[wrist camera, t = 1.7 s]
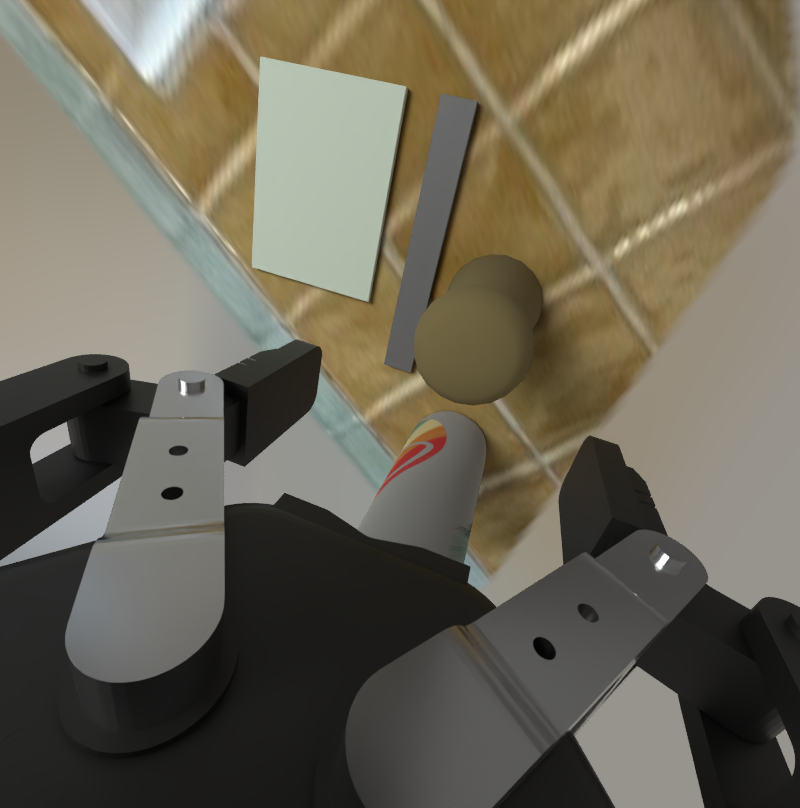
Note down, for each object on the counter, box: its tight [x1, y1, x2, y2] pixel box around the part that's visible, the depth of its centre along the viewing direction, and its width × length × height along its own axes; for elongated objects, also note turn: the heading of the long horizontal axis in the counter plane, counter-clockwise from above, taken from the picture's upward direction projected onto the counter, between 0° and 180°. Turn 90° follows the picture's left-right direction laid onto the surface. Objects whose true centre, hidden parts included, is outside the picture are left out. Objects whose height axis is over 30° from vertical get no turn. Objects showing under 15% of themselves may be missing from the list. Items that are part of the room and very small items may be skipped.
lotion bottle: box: [357, 411, 486, 564], centre depth 23 cm, size 6×6×20 cm
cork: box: [414, 255, 543, 405], centre depth 21 cm, size 6×6×11 cm
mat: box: [252, 57, 408, 302], centre depth 26 cm, size 12×9×1 cm
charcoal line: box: [384, 94, 478, 372], centre depth 26 cm, size 16×2×1 cm, turn 167°
